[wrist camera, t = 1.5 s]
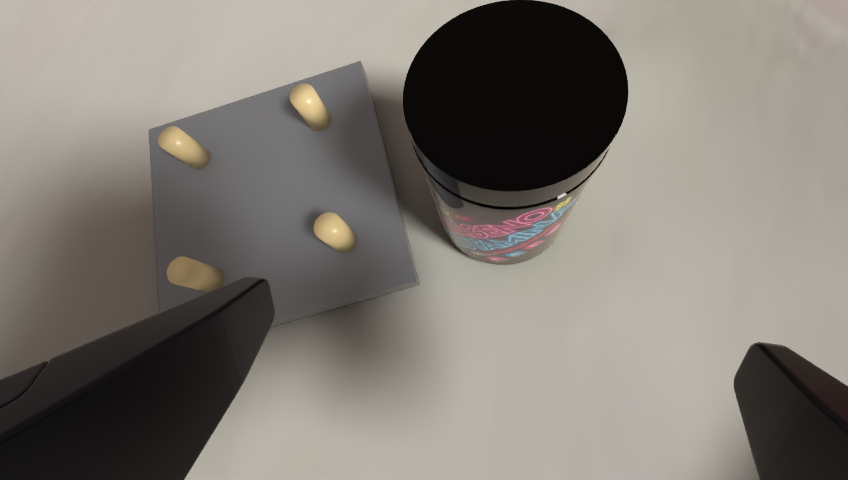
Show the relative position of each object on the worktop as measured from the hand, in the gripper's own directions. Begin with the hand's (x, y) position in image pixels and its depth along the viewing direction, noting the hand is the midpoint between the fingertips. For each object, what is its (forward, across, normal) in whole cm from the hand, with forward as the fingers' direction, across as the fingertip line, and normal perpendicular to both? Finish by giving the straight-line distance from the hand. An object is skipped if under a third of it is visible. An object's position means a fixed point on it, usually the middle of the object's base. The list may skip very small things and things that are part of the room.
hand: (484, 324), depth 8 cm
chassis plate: (+14, +13, +5) cm, 20 cm away
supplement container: (+15, 0, +4) cm, 16 cm away
